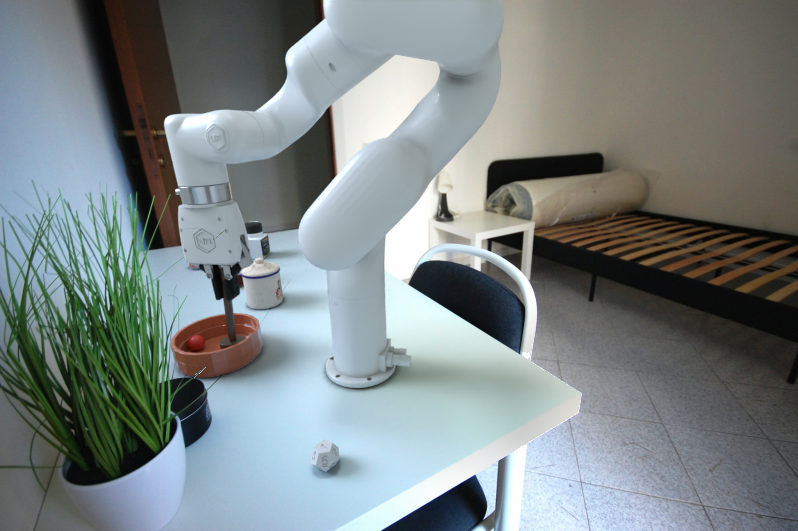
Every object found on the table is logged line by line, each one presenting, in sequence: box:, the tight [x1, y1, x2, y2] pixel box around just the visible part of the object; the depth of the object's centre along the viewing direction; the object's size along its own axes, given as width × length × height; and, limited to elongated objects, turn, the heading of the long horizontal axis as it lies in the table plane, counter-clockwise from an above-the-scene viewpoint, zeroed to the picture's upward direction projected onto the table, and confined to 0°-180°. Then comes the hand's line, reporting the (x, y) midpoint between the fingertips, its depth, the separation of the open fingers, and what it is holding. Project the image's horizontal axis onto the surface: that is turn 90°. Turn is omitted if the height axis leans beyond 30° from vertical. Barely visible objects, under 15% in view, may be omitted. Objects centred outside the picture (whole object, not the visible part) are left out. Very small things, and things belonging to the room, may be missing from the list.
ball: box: [188, 335, 205, 351], centre depth 72 cm, size 3×3×3 cm
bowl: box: [170, 312, 264, 379], centre depth 71 cm, size 15×15×5 cm
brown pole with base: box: [219, 266, 245, 349], centre depth 67 cm, size 4×4×15 cm
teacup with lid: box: [241, 258, 284, 310], centre depth 92 cm, size 12×9×12 cm
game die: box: [310, 439, 340, 473], centre depth 47 cm, size 4×4×3 cm
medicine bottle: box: [244, 220, 271, 260], centre depth 126 cm, size 7×7×12 cm
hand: (228, 296), depth 67 cm, fingers closed on brown pole with base, 1 cm apart
